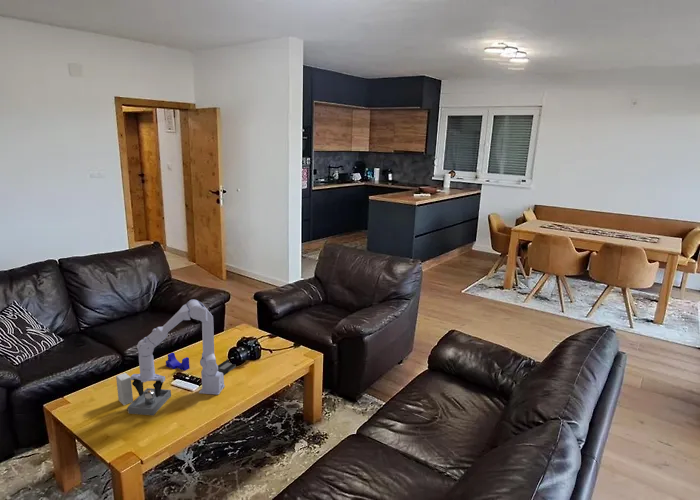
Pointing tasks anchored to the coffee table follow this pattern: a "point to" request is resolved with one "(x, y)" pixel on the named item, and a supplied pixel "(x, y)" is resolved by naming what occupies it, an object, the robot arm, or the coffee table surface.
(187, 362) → the cable clip
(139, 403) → the grey tray
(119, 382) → the skincare box
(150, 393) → the cell
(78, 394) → the coffee table surface
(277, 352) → the coffee table surface
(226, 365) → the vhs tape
